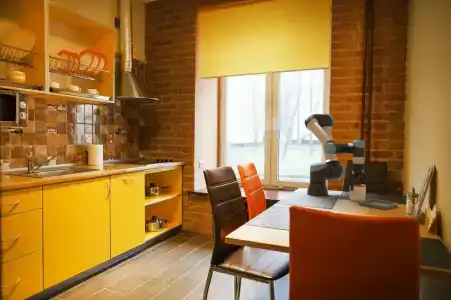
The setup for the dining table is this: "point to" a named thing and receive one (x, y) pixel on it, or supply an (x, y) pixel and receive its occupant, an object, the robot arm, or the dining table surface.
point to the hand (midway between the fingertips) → (357, 194)
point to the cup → (359, 193)
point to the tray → (378, 204)
